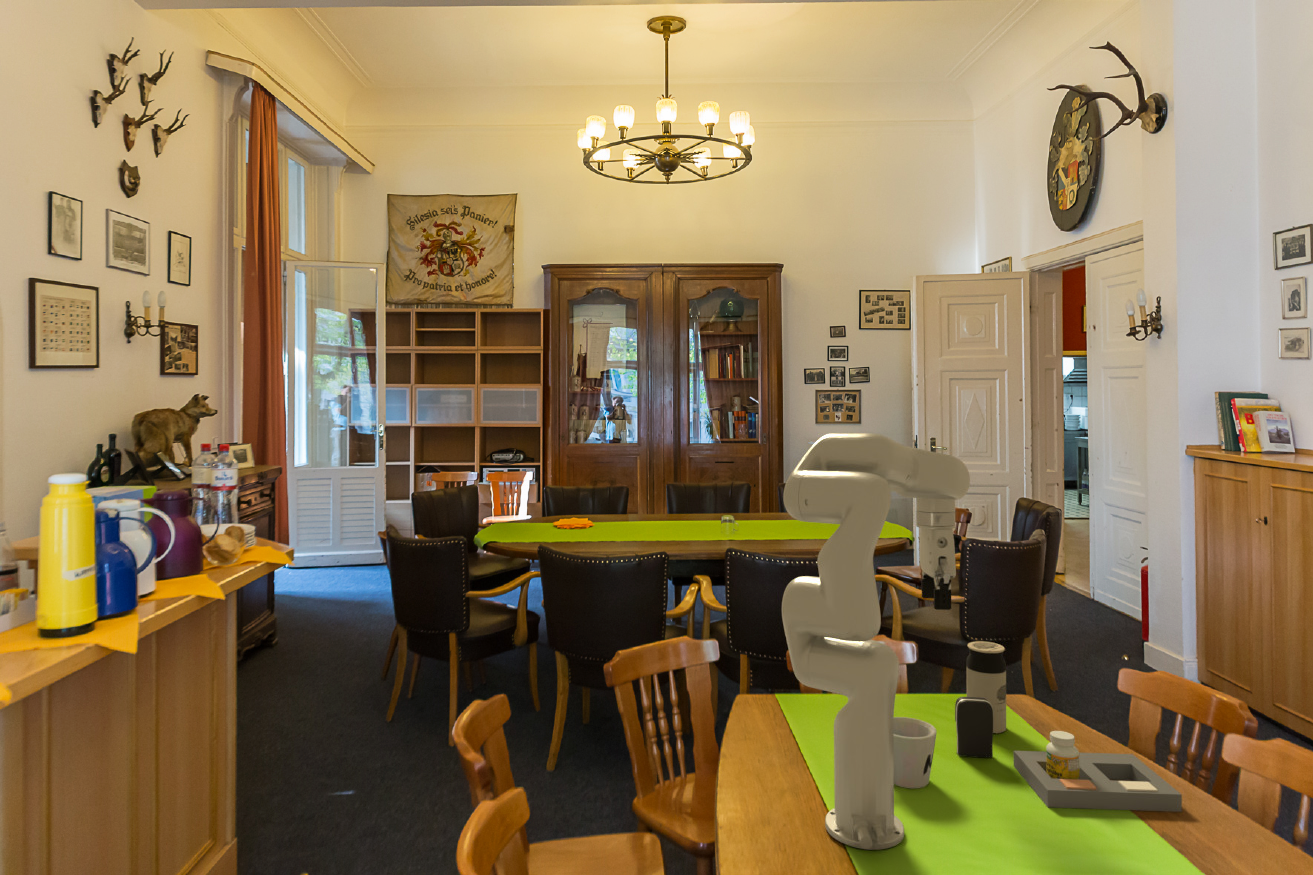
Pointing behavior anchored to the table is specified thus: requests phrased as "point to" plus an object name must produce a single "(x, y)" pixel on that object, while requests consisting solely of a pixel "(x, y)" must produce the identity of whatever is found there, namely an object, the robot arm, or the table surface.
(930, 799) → the table surface
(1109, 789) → the socket board
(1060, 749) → the supplement bottle
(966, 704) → the battery charger
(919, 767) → the mug
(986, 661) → the travel mug
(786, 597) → the robot arm
